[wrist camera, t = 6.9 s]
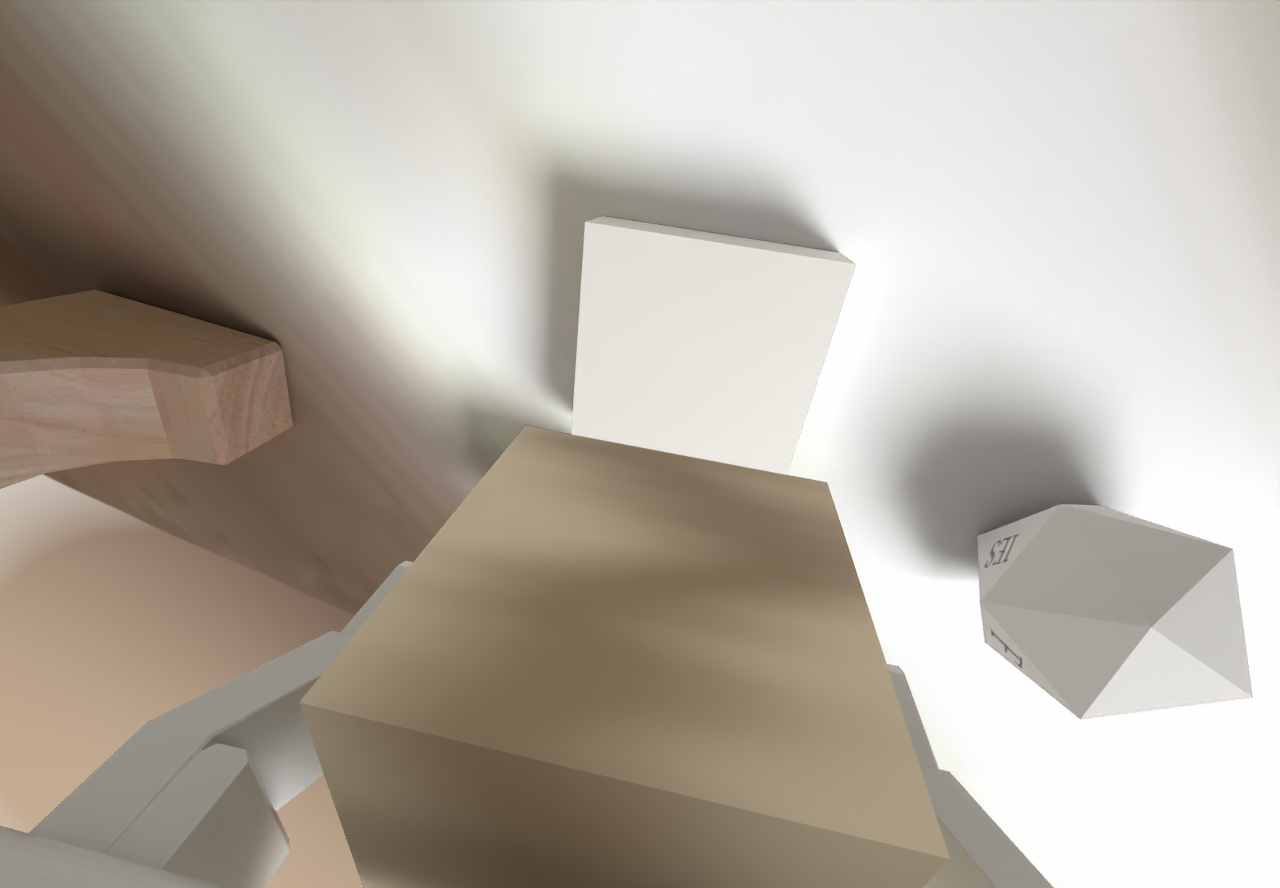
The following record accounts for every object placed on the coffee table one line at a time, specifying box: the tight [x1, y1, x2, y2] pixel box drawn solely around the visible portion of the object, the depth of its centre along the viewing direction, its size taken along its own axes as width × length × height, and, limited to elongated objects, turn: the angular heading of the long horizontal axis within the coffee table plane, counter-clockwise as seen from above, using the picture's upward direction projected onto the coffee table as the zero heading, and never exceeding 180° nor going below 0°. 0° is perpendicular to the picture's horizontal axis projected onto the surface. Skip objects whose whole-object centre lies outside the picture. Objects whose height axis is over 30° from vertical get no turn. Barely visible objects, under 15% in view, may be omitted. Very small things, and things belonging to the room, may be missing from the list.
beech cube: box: [299, 426, 950, 888], centre depth 8 cm, size 6×6×6 cm
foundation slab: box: [571, 216, 856, 475], centre depth 22 cm, size 10×10×3 cm
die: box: [977, 504, 1253, 719], centre depth 22 cm, size 8×9×10 cm
